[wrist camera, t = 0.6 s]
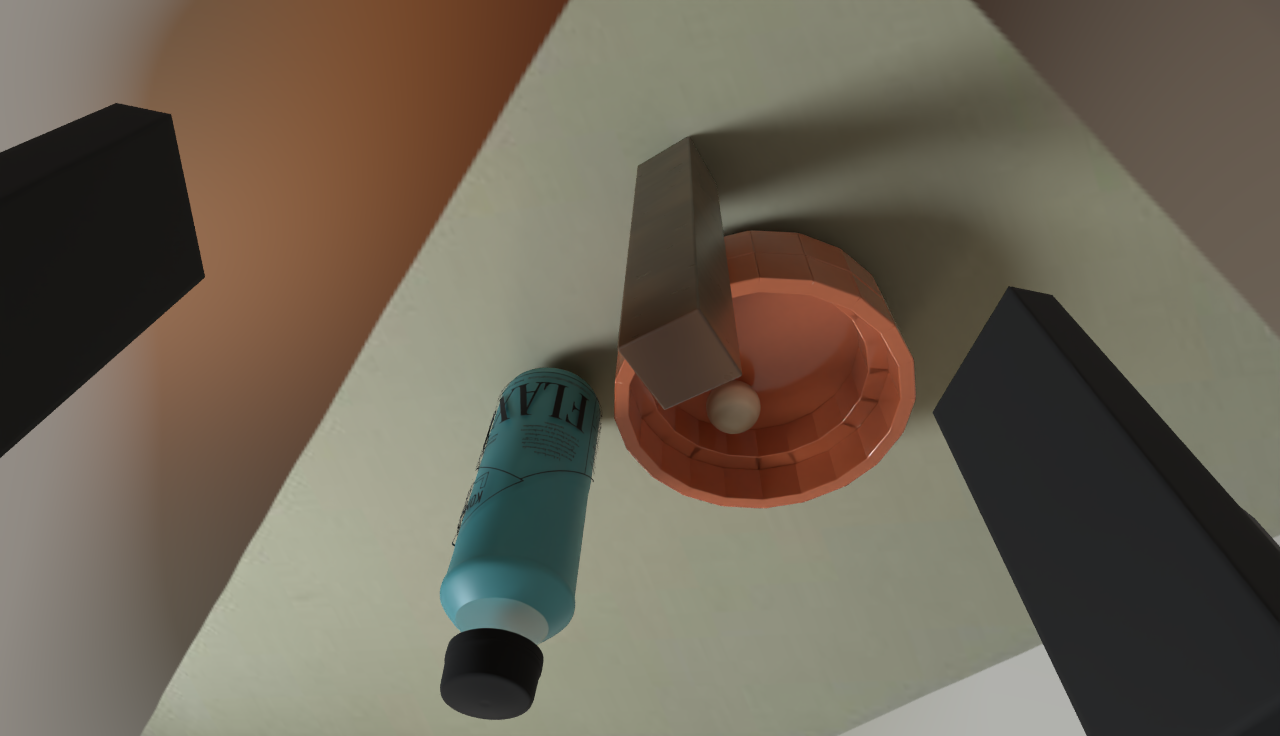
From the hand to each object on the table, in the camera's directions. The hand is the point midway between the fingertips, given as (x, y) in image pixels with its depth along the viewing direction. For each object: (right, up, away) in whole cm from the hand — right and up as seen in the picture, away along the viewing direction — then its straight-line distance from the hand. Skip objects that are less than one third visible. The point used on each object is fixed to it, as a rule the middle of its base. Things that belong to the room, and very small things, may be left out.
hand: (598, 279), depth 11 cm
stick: (+3, +8, +23) cm, 25 cm away
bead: (+6, -4, +29) cm, 30 cm away
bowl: (+7, 0, +30) cm, 30 cm away
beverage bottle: (-5, -3, +32) cm, 33 cm away
